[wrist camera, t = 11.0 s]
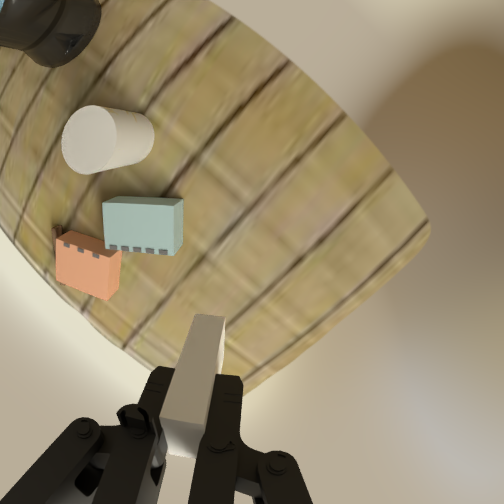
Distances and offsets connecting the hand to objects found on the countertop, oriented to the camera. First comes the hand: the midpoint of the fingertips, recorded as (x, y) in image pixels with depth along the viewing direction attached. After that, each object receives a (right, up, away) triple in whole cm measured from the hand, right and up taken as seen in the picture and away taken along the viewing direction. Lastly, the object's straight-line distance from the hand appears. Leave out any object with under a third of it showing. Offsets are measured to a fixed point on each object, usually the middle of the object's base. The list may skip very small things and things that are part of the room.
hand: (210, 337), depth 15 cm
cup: (-16, +21, +24) cm, 36 cm away
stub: (-25, +3, +32) cm, 41 cm away
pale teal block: (-14, +9, +28) cm, 33 cm away
